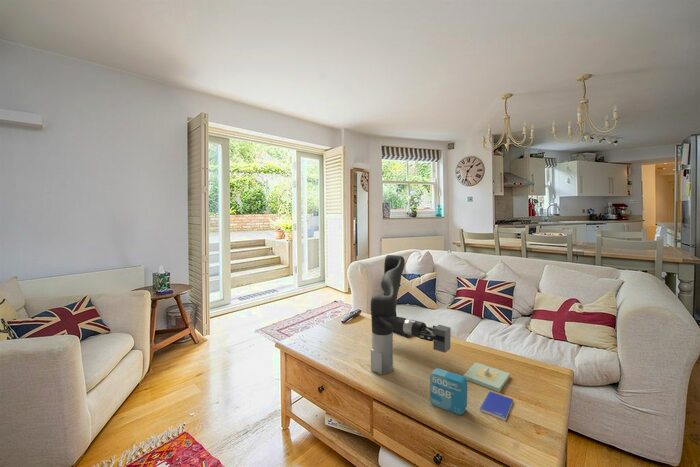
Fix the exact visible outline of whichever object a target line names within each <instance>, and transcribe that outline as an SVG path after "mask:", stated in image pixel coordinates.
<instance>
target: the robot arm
mask: <svg viewBox="0 0 700 467" xmlns="http://www.w3.org/2000/svg"><path fill="white" fill-rule="evenodd" d="M405 262H406V260H405V258H404V257H403V256H402V255H394V254H387V255H386V256H385V258H384V262H383V263H384V266H383V268H384V269H383V276H382V278H381V282H380V287H381V289H382V291H383V294H382V295H380V294H374V295H373V296H371V299H370V315H371V349H370V370H371V372H375V373H376V374H379V375H381V376H382V375H386V374H390V373H392V371H393V370H394V348H393V347H394V342H393V340H394V337H393V336H394V333H393V329H395V330H398V331H400V332H403V333H406V334H408V335H411V337H415V338H417V339H418V338H419V339H420V340H424V341H427V342H433V340H434V341H436V340H437V341H441V342H444V341H445V338H444V337H442V336H438V335H435V334H434V327H436V326H437V325H432V326H427V324H426V323H425V322H422V321H419V320H415V319H411V318H406V317H402V316H401V317H400V316H397V301H398V294H399V291H400V286H401V280H402V275H403V272H404V269H405V264H406V263H405ZM450 338H451V335H450Z"/></svg>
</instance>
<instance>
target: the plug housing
mask: <svg viewBox="0 0 700 467" xmlns="http://www.w3.org/2000/svg"><path fill="white" fill-rule="evenodd" d="M435 326H436V327H434V334H435V335H438V336H442V337H444V338H445V341H444V342H441V341H437V340H436V341H434V340H433V341H432V343H433V350H434V351H437V352H438V351H439V352H442V353H445V354H446V352H448V351H449V350H450V349H451V337H450V335H451V329H452V328H451V327H449V326H446V325H442V324H438V325H435Z"/></svg>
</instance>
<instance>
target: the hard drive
mask: <svg viewBox="0 0 700 467" xmlns="http://www.w3.org/2000/svg"><path fill="white" fill-rule="evenodd" d="M513 403H514V399H513V398H510V397H508V396H504V395H501V394H499V393H497V392H496V393H495V392H493V391H489V392H488V393H487V395H486V397H485V399H484V400H483V403H482V404H481V405H480V407H479V411H480V412H482V413H485V414H488V415H491V416H493V417H495V418H498V419H500V420H502V421H506V420H507V418H508V415H509V412H510V410H511V408H512V405H513Z"/></svg>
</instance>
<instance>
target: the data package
mask: <svg viewBox="0 0 700 467" xmlns="http://www.w3.org/2000/svg"><path fill="white" fill-rule="evenodd" d="M429 383H430V384H429V401H430V403H431V404H432V405H433V406H436V407H438V408H440V409H443V410H446V411H449V412H450V413H453V414H456V415H459V416H462V415H463V414H464V413H465V411H466V409H467V407H468V380H467V379H466V378H465V377H464V376H463V375H461V374H457V373H453V372H451V371H447V370H445V369H441V368H435V369H434V370H433V371H432V372H431V374H430V376H429Z"/></svg>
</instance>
